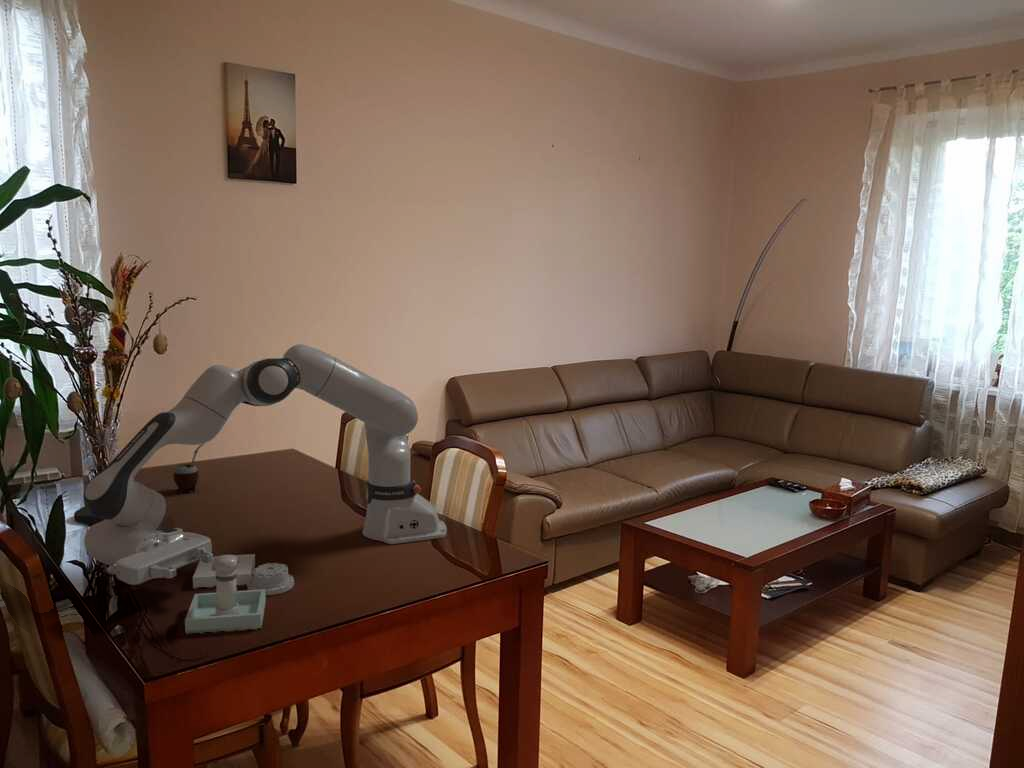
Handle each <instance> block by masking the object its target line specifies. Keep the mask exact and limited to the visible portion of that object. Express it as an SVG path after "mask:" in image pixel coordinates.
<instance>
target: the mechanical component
mask: <svg viewBox="0 0 1024 768" xmlns="http://www.w3.org/2000/svg"><path fill="white" fill-rule="evenodd" d="M288 567H289V566H287V565H286V564H284V563H278V562H273V563H271V562H270V563H269V562H268V563H263V564H260V565H258V567H254V571H253V576H252V578H251V579H250V580H249V581H248V582H247V585H246V587H247V588H246V589H247V590H261V589H265V592H266V596H275V595H279V594H282V593H285V592H288V591H289V590H291V589H292V588H293V587H294V586H295V578H294V576H292V574H289V568H288Z"/></svg>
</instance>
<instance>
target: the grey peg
mask: <svg viewBox="0 0 1024 768" xmlns="http://www.w3.org/2000/svg"><path fill="white" fill-rule="evenodd" d="M235 555H236V554H221V555H217V556H218V557H216V558H215V559H214V571H216V587H215V588H216V590H215V591H216V593H217V605H216V616H222V615H236V614H239V604H238V602H237V591H238V588H237V587H238V585H237V586H236V569H237V557H236V556H235Z"/></svg>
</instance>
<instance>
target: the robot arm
mask: <svg viewBox="0 0 1024 768" xmlns="http://www.w3.org/2000/svg"><path fill="white" fill-rule="evenodd" d="M295 389H299V390H302V391H304V392H306V393H307V394H310V395H312V396H313V397H316V398H317V399H319V400H321V401H323V402H326V403H327V404H330V405H332V406H333V407H335V408H338V409H339V410H341V411H343V412H345V413H347V414H348V415H350V416H352V417H354V418H355V419H357V420H359V421H361V422H363V423H364V428H365V436H366V444H367V445H366V446H367V453H368V455H367V456H368V457H367V458H368V460H367V461H368V463H367V464H368V465H367V466H368V478H367V479H368V480H367V481H366V487H365V488H366V489H365V491H366V492H365V493H366V495H365V496H366V498H365V499H366V503H367V507H366V513H365V519H364V525H363V528H362V531H361V532H362V535H363V536H364V537H366V538H368V539H371V540H375V541H380V542H383V543H385V544H387V545H388V544H389V545H396V544H403V543H410V542H419V541H426V540H433V539H442V538H444V537H445V536H446V535H447V533H448V531H447V525H446V524H445V522H444V521H443V520H441V519H440V518H439V513H438V511H437V508H436V507H435V506H434V504H433V503H432V502H430V501H429V500H428V499H426V498H424V497H423V496H422V495H420V493H421V491H422V488H421V485H419V484H418V483H417V482H416V480H415V479H411V449H410V445H409V440H408V434H410V433H411V432H412V431H413V430H414V429H415V428H416V426H417V425H418V421H419V414H418V410H417V407H416V405H415V403H414V402H413V400H412V398H410V397H409V396H407V395H405V394H404V393H403V392H401V391H399V390H398V389H396V388H394V387H393V386H389V385H387V384H385V383H383V382H382V381H380V380H378V379H376V378H374V377H372V376H370V375H369V374H367V373H365V372H363V371H362V370H359V369H358V368H356V367H354V366H352V365H350V364H349V363H346V362H345V361H342V360H341V359H339V358H337V357H335V356H333V355H331V354H329V353H327V352H324V351H323V350H321V349H317V348H314V347H311V346H309V345H306V344H301V343H300V344H295V345H292V346H291V347H289V348H288V349H287V350H286V351H285V353H284V354H283V356H282V357H280V358H276V357H275V358H272V357H271V358H265V359H264V358H263V359H260V360H256V361H253V362H252V363H250V364H249V365H247V366H246V367H243V368H241V369H240V370H238V371H237V370H234V369H232V368H231V367H228V366H227V365H226V366H225V365H221V364H216V365H215V364H214V365H211V366H209V367H207V368H206V369H205V370H204V372H202V373H201V374H200V376H199V377H197V379H196V380H195V381H194V382H193V383H192V384H191V386H190V387H189V388H188V390H187V391H186V393H185V394H184V395H183V397H182V398H181V399H180V401H179V402H177V404H176V405H175V406H173V408H171V409H170V410H168V411H166V412H165V411H163V412H160V413H157V414H156V415H155V416H153V417H152V418H151V419H150V420H149V421H148V422H146V424H145V425H143V427H142V428H141V429H139V431H138V432H137V433H136V434H135V435H134V437H132V438H131V439H130V441H129V442H128V443H127V444H126V445H125V446H124V447H123V448H122V449H121V450H120V451H119V452H118V454H117V455H116V456H115V457H114V458H113V460H111V462H109V463H108V465H106V467H104V468H102V470H100V471H98V473H96V474H95V475H94V476H93V477H92V478H90V480H89V481H88V482H87V484H86V485H85V487H84V490H83V495H82V496H83V497H82V498H83V503H84V506H85V508H86V510H87V512H88V513H89V514H91V515H93V516H96V517H99V518H102V519H105V520H103V521H102V522H99V523H97V524H92V525H91V526H90V527H89V528H88V529H87V531H86V532H85V535H84V541H83V543H84V548H85V550H86V553H87V554H88V555H89V556H90V557H91V558H93V559H94V560H96V561H98V562H100V563H102V564H105V565H108V567H107V568H106V572H107V573H108V574H110V575H111V574H112V575H116V577H115V578H117V579H118V580H119V581H121V582H124V583H126V584H128V585H132V586H133V585H141V584H143V583H145V582H147V581H150V580H153V579H161V578H163V579H164V578H165V579H172V578H174V577H177V569H180V568H182V567H184V566H186V565H188V564H192V563H195V562H196V561H200V559H202V562H205V563H208V562H210V561H213V556H214V554H213V553H212V551H213V550H212V549H213V548H212V547H213V545H212V544H213V543H212V540H211V538H210V537H209V536H205V535H202V534H198V533H194V532H187V531H183V529H182V528H179V527H174V528H167V529H163V530H160V529H161V528H162V525H163V523H164V521H165V518H166V516H167V512H168V504H167V500H166V498H165V496H164V495H163V494H162V493H160V492H157V491H156V490H154V489H152V488H150V487H149V486H145V485H143V484H142V483H139V482H138V481H136V480H134V478H135V476H136V475H137V474H138V472H140V471H141V469H142V468H143V467H144V466H145V465H146V463H147V462H149V460H150V459H151V458H152V457H153V456H154V455H155V454H156V452H157V451H158V450H160V449H161V448H163V447H165V446H168V445H175V444H177V445H188V446H197V445H199V446H200V445H201V444H203V443H204V444H206V443H209V442H210V441H212V440H213V439H215V438H216V437H217V436H218V434H219V433H220V432H221V430H222V429H223V428H224V426H225V424H226V422H227V421H228V419H229V418H230V416H231V415H232V413H233V411H234V410H235V409H236V407H238V406H239V405H240V404H246V405H249V406H252V407H269V406H270V407H271V406H273V405H275V404H278V403H280V402H281V401H283V400H285V399H286V398H287V397H289V395H291V393H292V392H293V391H294V390H295ZM204 444H203V445H204Z"/></svg>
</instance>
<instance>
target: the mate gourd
mask: <svg viewBox="0 0 1024 768" xmlns="http://www.w3.org/2000/svg"><path fill="white" fill-rule="evenodd" d="M204 445H205V443H203V444H199V446H197V448H196V449H195V450H194V452H193V453H194V454H193V456H192V461H191V463H190V464H189V463H184V464H180V465H177V466H176V468H175V469H174V470H173V480H174V482H175V485H176V486H177V487H178V488H177V491H178V490H180V491H178V494H179V493H183V492H185V491H193V492H195V491H196V487H197V486H196V485H197V483H198V482H199V475H200V474H199V470H198V468H197V466H196V465H195V464H194V463H195V459H196V456H197V454H198V452H199V449H200V448H202V446H204ZM183 494H184V493H183Z"/></svg>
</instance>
